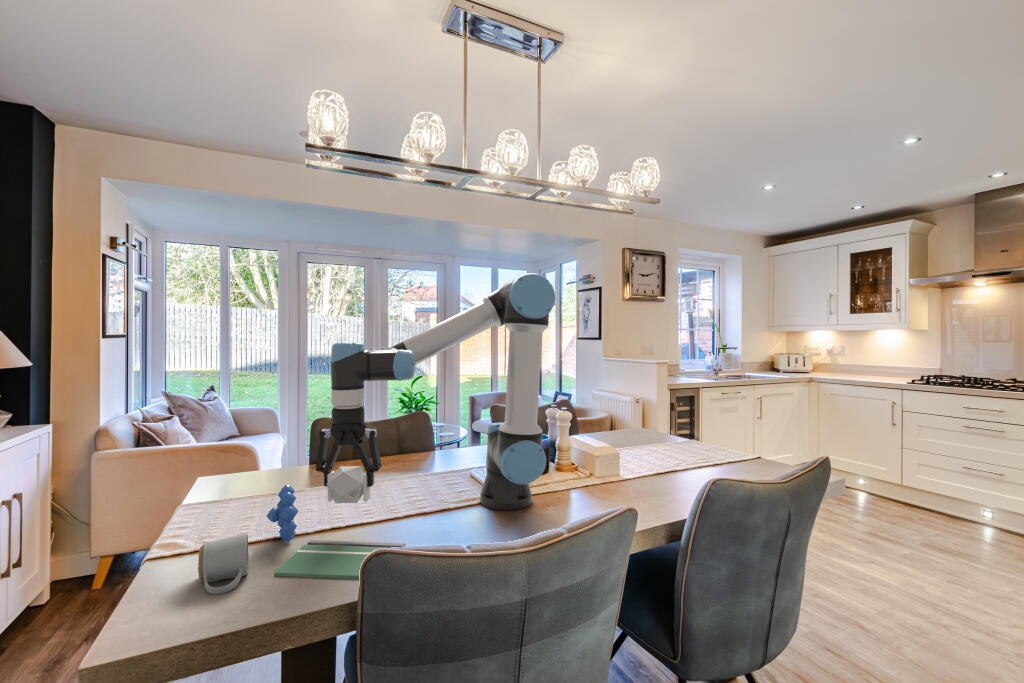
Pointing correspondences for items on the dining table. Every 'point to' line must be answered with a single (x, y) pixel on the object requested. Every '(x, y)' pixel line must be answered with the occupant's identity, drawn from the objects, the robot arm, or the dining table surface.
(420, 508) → the dining table surface
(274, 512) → the grapes
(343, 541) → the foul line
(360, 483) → the die
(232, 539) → the ceramic mug
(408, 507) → the dining table surface
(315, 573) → the felt mat
